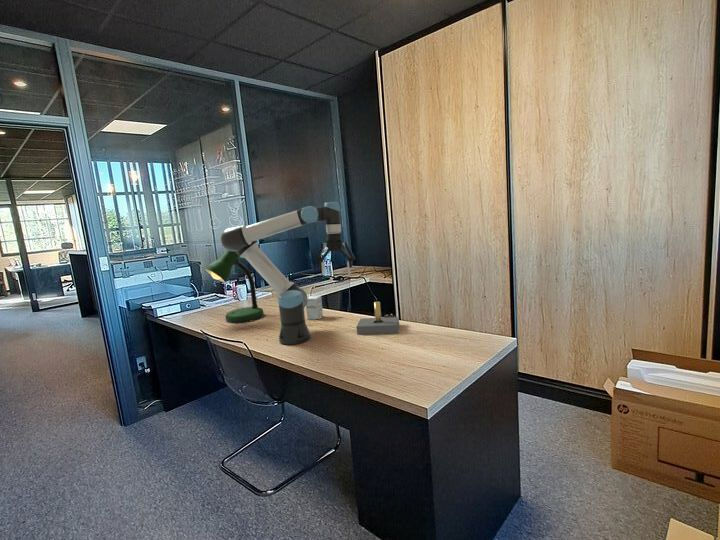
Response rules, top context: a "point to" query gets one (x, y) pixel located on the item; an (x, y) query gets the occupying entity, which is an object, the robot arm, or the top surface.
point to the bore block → (378, 325)
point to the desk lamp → (222, 272)
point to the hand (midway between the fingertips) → (336, 274)
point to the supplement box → (314, 307)
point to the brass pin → (377, 312)
